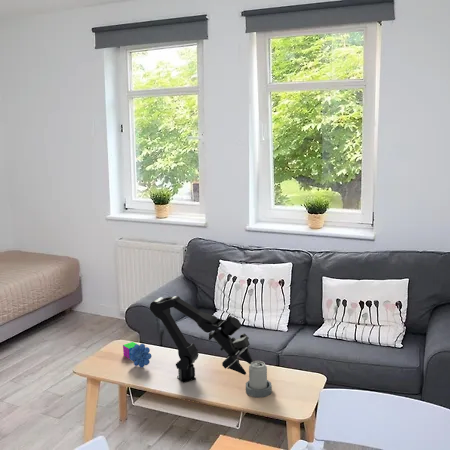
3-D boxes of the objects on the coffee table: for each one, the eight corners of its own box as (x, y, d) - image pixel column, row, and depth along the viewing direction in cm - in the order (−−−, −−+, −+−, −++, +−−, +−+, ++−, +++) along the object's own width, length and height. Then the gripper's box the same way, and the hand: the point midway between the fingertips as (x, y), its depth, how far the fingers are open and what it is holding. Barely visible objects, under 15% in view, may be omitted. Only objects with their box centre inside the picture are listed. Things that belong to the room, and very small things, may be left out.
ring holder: (255, 400, 231) (254, 393, 231) (241, 389, 240) (240, 382, 240) (276, 392, 237) (276, 386, 236) (262, 382, 246) (262, 376, 245)
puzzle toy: (139, 356, 276) (139, 345, 275) (129, 359, 272) (128, 348, 271) (133, 352, 280) (132, 341, 279) (123, 356, 277) (122, 345, 275)
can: (270, 390, 237) (270, 364, 235) (256, 396, 233) (255, 369, 231) (260, 383, 244) (259, 358, 241) (245, 388, 240) (245, 362, 237)
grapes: (157, 365, 265) (155, 341, 262) (149, 371, 259) (147, 347, 256) (136, 361, 270) (134, 337, 267) (128, 367, 264) (126, 343, 261)
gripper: (228, 338, 228) (254, 368, 226) (245, 322, 245) (269, 350, 243) (211, 354, 233) (236, 383, 231) (228, 337, 250) (252, 364, 248)
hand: (249, 369), depth 238 cm, fingers open, 9 cm apart
